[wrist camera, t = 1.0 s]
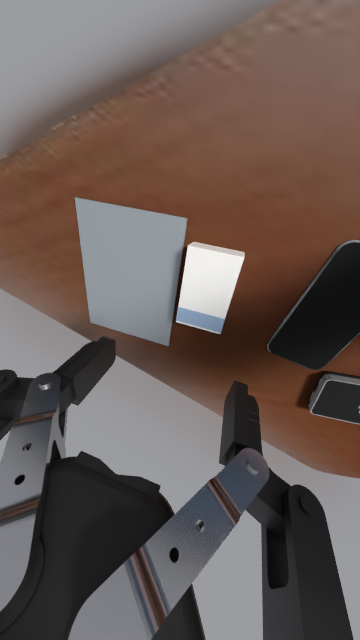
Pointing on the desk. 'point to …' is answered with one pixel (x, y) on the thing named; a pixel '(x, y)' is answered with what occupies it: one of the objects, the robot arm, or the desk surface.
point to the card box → (208, 285)
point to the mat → (131, 267)
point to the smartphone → (323, 313)
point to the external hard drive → (337, 397)
